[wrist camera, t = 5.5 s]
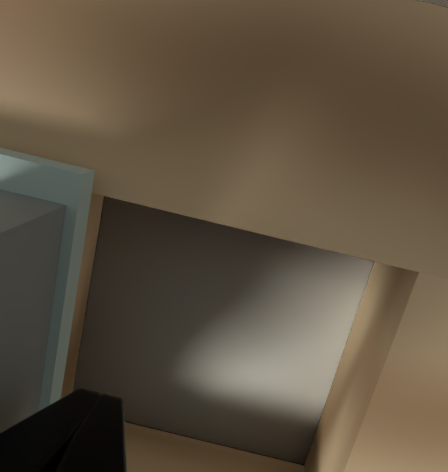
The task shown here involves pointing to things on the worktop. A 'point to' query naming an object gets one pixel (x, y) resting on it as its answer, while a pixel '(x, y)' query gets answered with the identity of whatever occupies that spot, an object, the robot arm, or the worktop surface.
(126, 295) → the worktop surface
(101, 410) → the robot arm
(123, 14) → the wooden board with hole
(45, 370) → the cover
